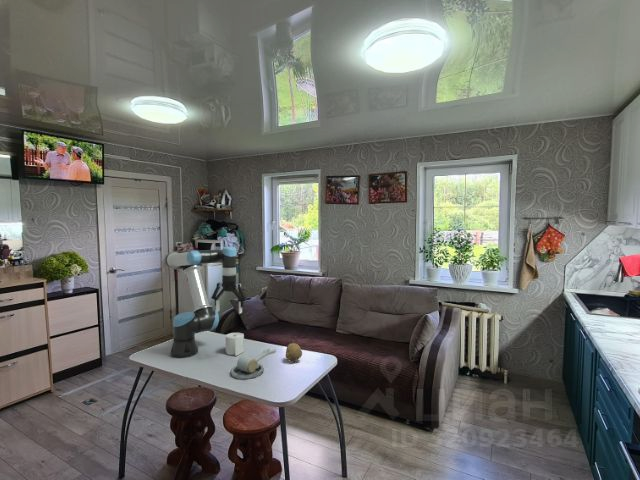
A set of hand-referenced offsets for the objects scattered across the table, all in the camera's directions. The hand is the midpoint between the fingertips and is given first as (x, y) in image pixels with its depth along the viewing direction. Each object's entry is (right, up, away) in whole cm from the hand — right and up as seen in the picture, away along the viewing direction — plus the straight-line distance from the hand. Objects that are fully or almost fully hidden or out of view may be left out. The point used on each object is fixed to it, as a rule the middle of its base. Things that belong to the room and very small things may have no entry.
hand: (229, 312), depth 188 cm
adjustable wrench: (+17, -27, +4) cm, 32 cm away
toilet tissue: (+1, -27, +12) cm, 29 cm away
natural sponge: (+37, -27, -2) cm, 46 cm away
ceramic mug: (+15, -27, -15) cm, 34 cm away
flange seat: (+14, -27, -16) cm, 35 cm away
